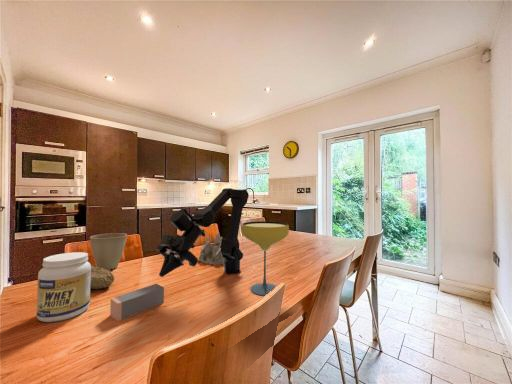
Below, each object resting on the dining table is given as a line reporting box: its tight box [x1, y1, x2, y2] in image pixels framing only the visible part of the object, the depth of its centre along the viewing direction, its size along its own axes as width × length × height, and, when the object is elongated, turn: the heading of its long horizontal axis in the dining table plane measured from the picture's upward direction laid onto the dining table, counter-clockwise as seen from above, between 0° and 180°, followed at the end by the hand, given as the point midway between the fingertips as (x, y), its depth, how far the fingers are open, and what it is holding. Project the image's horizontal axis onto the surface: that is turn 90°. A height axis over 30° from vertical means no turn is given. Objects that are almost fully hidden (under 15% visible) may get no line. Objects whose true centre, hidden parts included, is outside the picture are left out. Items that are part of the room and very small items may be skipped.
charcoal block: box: [109, 283, 165, 322], centre depth 69 cm, size 5×5×14 cm
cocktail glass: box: [241, 220, 290, 297], centre depth 84 cm, size 18×18×25 cm
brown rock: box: [90, 265, 115, 290], centre depth 87 cm, size 13×8×20 cm
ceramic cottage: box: [198, 232, 225, 266], centre depth 121 cm, size 16×16×15 cm
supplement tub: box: [36, 251, 92, 323], centre depth 67 cm, size 12×12×17 cm
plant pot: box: [89, 232, 128, 271], centre depth 106 cm, size 15×15×16 cm
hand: (160, 276), depth 75 cm, fingers closed
